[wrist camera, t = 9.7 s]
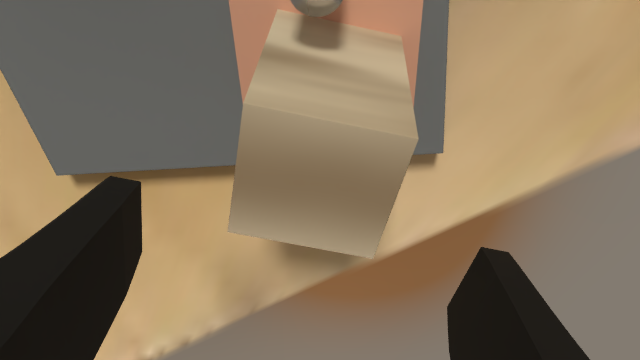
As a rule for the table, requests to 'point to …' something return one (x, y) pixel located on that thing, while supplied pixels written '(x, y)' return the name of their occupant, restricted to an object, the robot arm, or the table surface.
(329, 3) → the bent wire
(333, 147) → the birch block
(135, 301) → the table surface
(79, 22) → the board
